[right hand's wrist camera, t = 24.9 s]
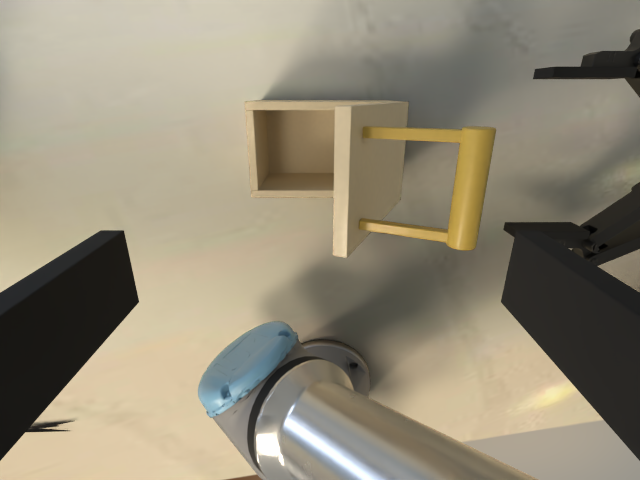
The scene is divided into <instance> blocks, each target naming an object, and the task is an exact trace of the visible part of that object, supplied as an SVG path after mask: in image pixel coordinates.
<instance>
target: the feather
mask: <svg viewBox="0 0 640 480" xmlns="http://www.w3.org/2000/svg"><path fill="white" fill-rule="evenodd" d="M69 422H73V421H69ZM63 423H68V422H61V423H54V424H47V425H40V426H32V427H29V428H28V429H27V431H26V432H52V431H68V430H53V429H42V428H46V427H56V426H57V425H58V424H63ZM60 426H61V425H60ZM64 429H65V428H64Z"/></svg>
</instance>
